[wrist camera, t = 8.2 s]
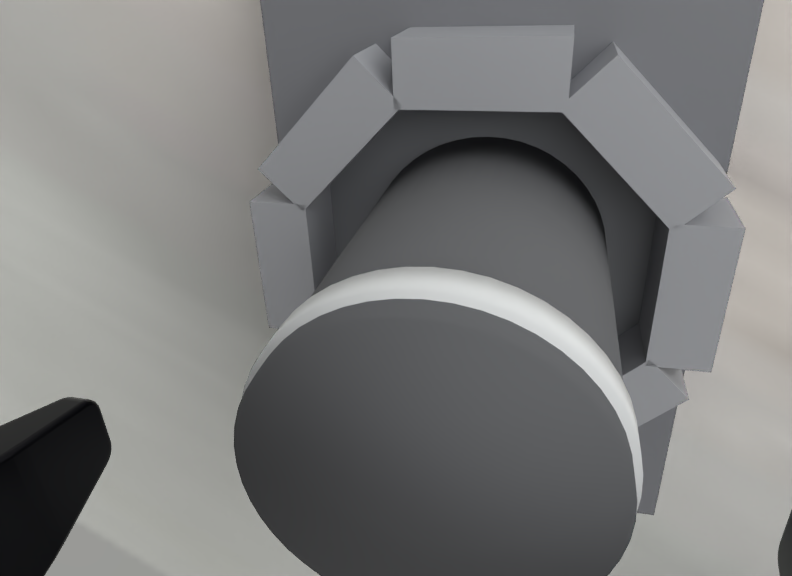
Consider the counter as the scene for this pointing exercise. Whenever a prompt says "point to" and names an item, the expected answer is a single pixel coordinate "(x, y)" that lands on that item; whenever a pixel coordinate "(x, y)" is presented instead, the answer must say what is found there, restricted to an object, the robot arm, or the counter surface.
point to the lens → (452, 384)
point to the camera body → (532, 124)
